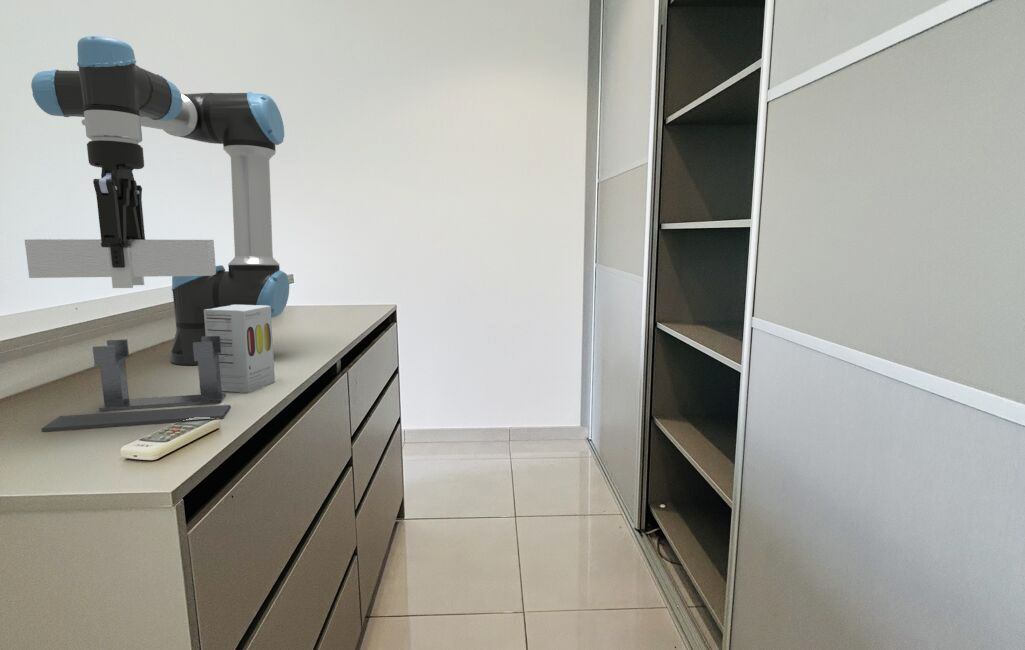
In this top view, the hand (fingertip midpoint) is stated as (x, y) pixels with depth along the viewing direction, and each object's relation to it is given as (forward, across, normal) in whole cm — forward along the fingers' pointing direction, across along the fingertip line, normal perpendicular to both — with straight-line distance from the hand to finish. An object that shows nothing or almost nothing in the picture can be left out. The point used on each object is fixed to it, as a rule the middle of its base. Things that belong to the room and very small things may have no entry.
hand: (129, 286), depth 97 cm
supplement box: (+23, -19, +13) cm, 33 cm away
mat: (+23, 0, 0) cm, 23 cm away
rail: (-2, 0, 0) cm, 2 cm away
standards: (+23, -9, +1) cm, 25 cm away
